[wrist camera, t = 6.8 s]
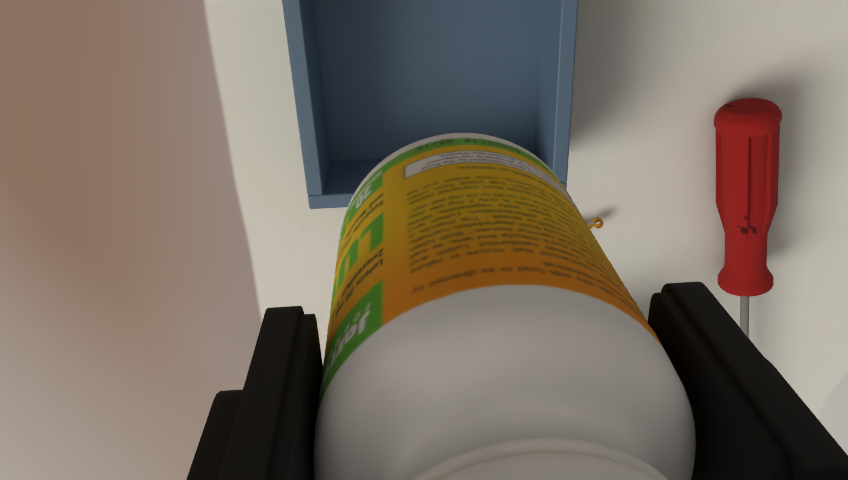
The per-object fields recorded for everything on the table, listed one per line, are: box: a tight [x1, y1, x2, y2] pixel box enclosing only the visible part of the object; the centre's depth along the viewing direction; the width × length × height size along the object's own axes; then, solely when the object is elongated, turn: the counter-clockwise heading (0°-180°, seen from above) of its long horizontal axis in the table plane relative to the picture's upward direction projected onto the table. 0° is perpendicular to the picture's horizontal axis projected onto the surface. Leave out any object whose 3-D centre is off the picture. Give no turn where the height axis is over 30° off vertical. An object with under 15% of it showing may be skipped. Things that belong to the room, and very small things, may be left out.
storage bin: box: [282, 0, 578, 209], centre depth 34 cm, size 14×14×6 cm
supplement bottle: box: [313, 133, 696, 480], centre depth 11 cm, size 5×5×10 cm
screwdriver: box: [714, 98, 782, 338], centre depth 42 cm, size 4×25×4 cm, turn 12°
